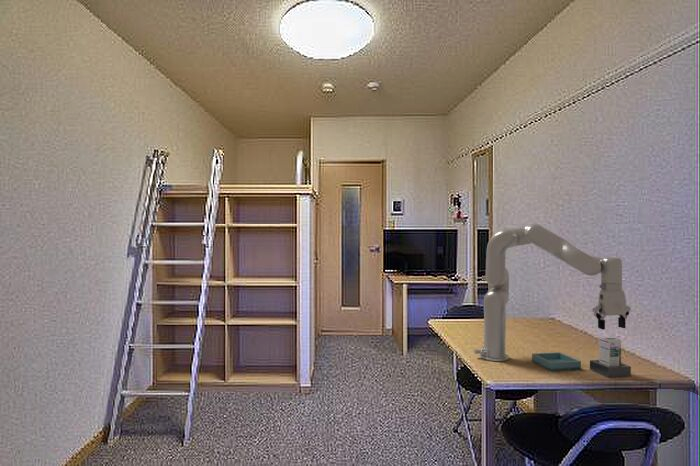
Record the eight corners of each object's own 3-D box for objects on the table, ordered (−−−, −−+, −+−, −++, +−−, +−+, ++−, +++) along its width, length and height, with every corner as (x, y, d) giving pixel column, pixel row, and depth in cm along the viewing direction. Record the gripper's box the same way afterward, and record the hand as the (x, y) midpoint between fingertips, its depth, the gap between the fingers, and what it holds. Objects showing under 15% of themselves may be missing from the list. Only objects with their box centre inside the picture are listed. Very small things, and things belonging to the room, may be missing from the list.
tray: (551, 371, 190) (551, 363, 190) (531, 361, 204) (532, 353, 204) (580, 369, 193) (580, 361, 193) (559, 359, 207) (559, 352, 206)
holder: (608, 377, 182) (608, 367, 182) (589, 369, 193) (589, 360, 193) (630, 376, 184) (630, 366, 184) (611, 368, 195) (611, 359, 195)
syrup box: (609, 375, 185) (609, 340, 185) (598, 371, 191) (599, 336, 191) (621, 374, 186) (621, 339, 186) (610, 370, 192) (610, 336, 192)
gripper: (599, 289, 183) (600, 331, 183) (636, 287, 186) (637, 329, 186) (586, 286, 190) (587, 327, 190) (622, 285, 193) (622, 325, 193)
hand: (611, 328), depth 188 cm, fingers open, 9 cm apart
